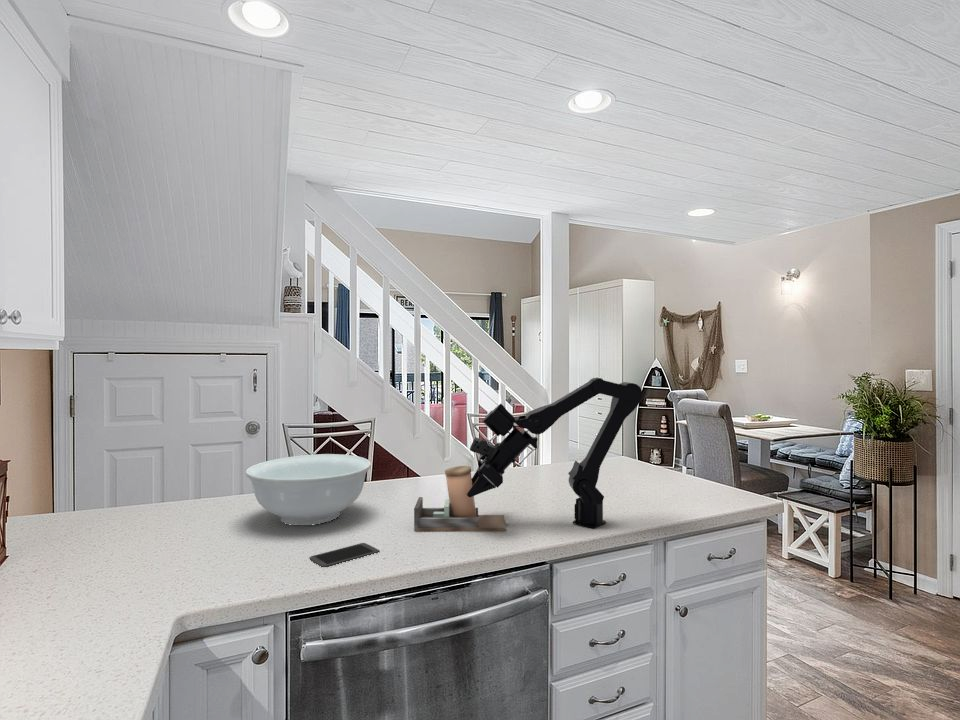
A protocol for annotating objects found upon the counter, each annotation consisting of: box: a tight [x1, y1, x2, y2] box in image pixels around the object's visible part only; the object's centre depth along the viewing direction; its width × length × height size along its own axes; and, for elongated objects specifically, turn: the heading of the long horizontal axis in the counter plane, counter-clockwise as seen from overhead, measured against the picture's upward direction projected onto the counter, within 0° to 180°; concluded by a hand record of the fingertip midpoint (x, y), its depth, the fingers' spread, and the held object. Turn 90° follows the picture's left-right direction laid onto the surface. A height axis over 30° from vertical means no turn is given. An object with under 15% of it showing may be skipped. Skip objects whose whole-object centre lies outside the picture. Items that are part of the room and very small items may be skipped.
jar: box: [444, 465, 477, 518], centre depth 141 cm, size 7×7×13 cm
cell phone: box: [308, 542, 381, 568], centre depth 120 cm, size 7×14×1 cm, turn 132°
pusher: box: [433, 498, 450, 518], centre depth 141 cm, size 4×7×5 cm, turn 0°
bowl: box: [245, 453, 372, 526], centre depth 148 cm, size 32×32×15 cm
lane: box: [413, 496, 507, 532], centre depth 141 cm, size 23×11×6 cm, turn 90°
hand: (468, 491), depth 141 cm, fingers open, 9 cm apart
